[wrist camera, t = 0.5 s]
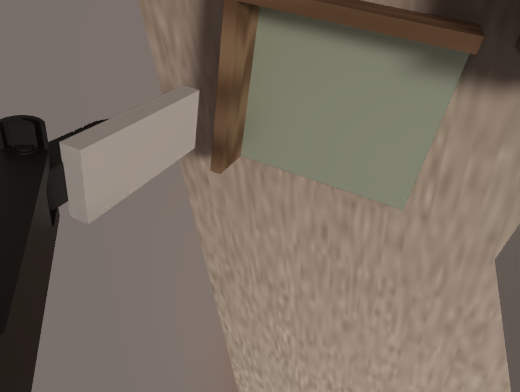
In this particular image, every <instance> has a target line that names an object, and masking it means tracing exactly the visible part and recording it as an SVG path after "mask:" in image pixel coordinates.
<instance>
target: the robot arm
mask: <svg viewBox="0 0 520 392" xmlns="http://www.w3.org/2000/svg"><path fill="white" fill-rule="evenodd" d="M198 102H199V90H197V89H194V88H191V87H188V86H185V85H183V86H181V87H179V88H176V89H174V90H172V91H170V92H168V93H165V94H163V95H161V96H159V97H157V98H155V99H153V100H150V101H148V102H146V103H144V104H141V105H139V106H137V107H135V108H133V109H130V110H128V111H126V112H124V113H122V114H120V115H117V116H115V117H113V118H111V119H106V120H100V121H95V122H93V123H90V124H88V125H86V126H84V128H79V129H77V130H75V132H70V133H68V134H66V135H64V136H61V137H59V138H57V139H55V140H52V141H50V142H48V139H47V133H46V126H45V122H44V121H43V120H42V119H40V118H38V117H34V116H27V115H18V116H17V115H16V116H10V117H5V118H3V119H0V392H31V389H32V383H33V377H34V371H35V365H36V359H37V352H38V346H39V340H40V334H41V327H42V321H43V315H44V309H45V303H46V297H47V290H48V284H49V278H50V272H51V265H52V259H53V254H54V247H55V241H56V235H57V229H58V223H59V216H60V215H59V209H58V207H59V206H61V205H62V204H64V203H66V202H67V201H68V208H69V215H70V216H71V217H73V218H75V219H78V220H80V221H82V222H84V223H86V224H89V223H91V222H92V221H94V220H95V219H96V218H98V217H99V216H101V215H102V214H103V213H105V212H106V211H108V210H109V209H110V208H112V207H113V206H114V205H116V204H117V203H119V202H120V201H121V200H123V199H124V198H126V197H127V196H128V195H130V194H131V193H133V192H134V191H135V190H137V189H138V188H140V187H141V186H142V185H144V184H145V183H146V182H148V181H149V180H151V179H152V178H154V177H155V176H156V175H158V174H159V173H161V172H162V171H163V170H165V169H166V168H168V167H169V166H170V165H172V164H173V163H174V162H176V161H177V160H179V159H180V158H182V157H183V156H184V155H186V154H187V153H189V152H190V151H191V150H193V149H194V148H195V140H196V127H197V115H198ZM495 265H496V273H497V281H498V289H499V297H500V305H501V313H502V321H503V329H504V337H505V345H506V353H507V361H508V370H509V378H510V386H511V392H520V224H519V226H518V227H517V229H516V230H515V232H514V233H513V234H512V236H511V237H510V239H509V240H508V242H507V243H506V245H505V246H504V247H503V249H502V250H501V252H500V253H499V255H498V256H497V257H496V259H495Z"/></svg>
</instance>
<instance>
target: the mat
mask: <svg viewBox="0 0 520 392" xmlns="http://www.w3.org/2000/svg"><path fill="white" fill-rule="evenodd" d="M469 54H470V53H466V52H462V51H458V50H453V49H449V48H444V47H440V46H435V45H431V44H426V43H422V42H418V41H413V40H409V39H404V38H400V37H395V36H391V35H387V34H382V33H378V32H373V31H369V30H364V29H360V28H355V27H351V26H347V25H342V24H338V23H333V22H329V21H324V20H320V19H315V18H311V17H307V16H302V15H298V14H293V13H289V12H284V11H280V10H275V9H271V8H267V7H262V6H260V7H259V15H258V23H257V31H256V39H255V47H254V55H253V63H252V71H251V79H250V86H249V94H248V102H247V110H246V118H245V126H244V134H243V142H242V150H241V156H244V157H247V158H250V159H252V160H255V161H258V162H261V163H264V164H267V165H270V166H273V167H276V168H279V169H282V170H285V171H288V172H291V173H294V174H297V175H300V176H303V177H306V178H309V179H312V180H315V181H318V182H321V183H324V184H327V185H330V186H333V187H336V188H338V189H341V190H344V191H347V192H350V193H353V194H356V195H359V196H362V197H365V198H368V199H371V200H374V201H377V202H380V203H383V204H386V205H389V206H392V207H395V208H398V209H401V210H403V209H404V207H405V205H406V202H407V200H408V198H409V195H410V193H411V191H412V188H413V186H414V184H415V181H416V179H417V177H418V174H419V172H420V170H421V167H422V165H423V162H424V160H425V158H426V155H427V153H428V151H429V148H430V146H431V144H432V141H433V139H434V137H435V134H436V132H437V130H438V127H439V125H440V123H441V120H442V118H443V115H444V113H445V111H446V108H447V106H448V104H449V101H450V99H451V97H452V94H453V92H454V90H455V87H456V85H457V83H458V80H459V78H460V76H461V73H462V71H463V68H464V66H465V64H466V61H467V59H468V57H469Z"/></svg>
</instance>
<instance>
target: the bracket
mask: <svg viewBox="0 0 520 392" xmlns="http://www.w3.org/2000/svg"><path fill="white" fill-rule="evenodd" d="M515 48H516V50H517V51H518V53H519V55H520V36H519V38H518V41H517V43H516V45H515Z"/></svg>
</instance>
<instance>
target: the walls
mask: <svg viewBox="0 0 520 392" xmlns="http://www.w3.org/2000/svg"><path fill="white" fill-rule="evenodd" d="M260 6H262V7H267V8H271V9H275V10H280V11H284V12H289V13H293V14H298V15H302V16H307V17H311V18H315V19H320V20H324V21H329V22H333V23H338V24H342V25H347V26H351V27H355V28H360V29H364V30H369V31H373V32H378V33H382V34H387V35H391V36H395V37H400V38H404V39H409V40H413V41H418V42H422V43H426V44H431V45H435V46H440V47H444V48H449V49H453V50H458V51H462V52H466V53H471V54H475V55H477V53H478V51H479V48H480V46H481V44H482V42H483V39H484V34H483V31H482V28H481V25H477V24H472V23H467V22H462V21H457V20H452V19H447V18H443V17H438V16H433V15H428V14H423V13H418V12H414V11H409V10H404V9H399V8H394V7H389V6H384V5H380V4H375V3H370V2H365V1H360V0H224V5H223V18H222V30H221V43H220V56H219V69H218V81H217V94H216V107H215V120H214V132H213V145H212V158H211V171H213V172H216V173H219V174H221V173H222V172H223V171H224V170H225V169H227V168H228V167H229V166H230V165H231V164H232V163H233V162H234V161H235V160H236V159H238V158H239V157H240V156H241V150H242V142H243V134H244V126H245V118H246V110H247V102H248V94H249V86H250V79H251V71H252V63H253V55H254V47H255V39H256V31H257V23H258V15H259V7H260Z"/></svg>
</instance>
